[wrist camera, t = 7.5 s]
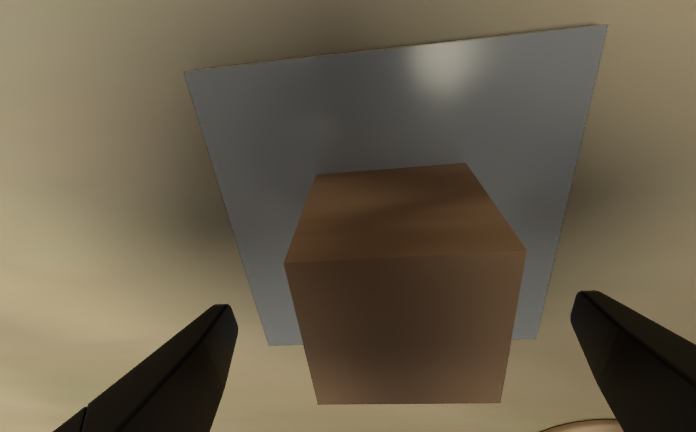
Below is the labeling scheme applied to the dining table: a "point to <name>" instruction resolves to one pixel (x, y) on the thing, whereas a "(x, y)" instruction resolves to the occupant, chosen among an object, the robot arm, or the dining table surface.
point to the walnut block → (405, 287)
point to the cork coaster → (589, 426)
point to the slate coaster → (400, 140)
